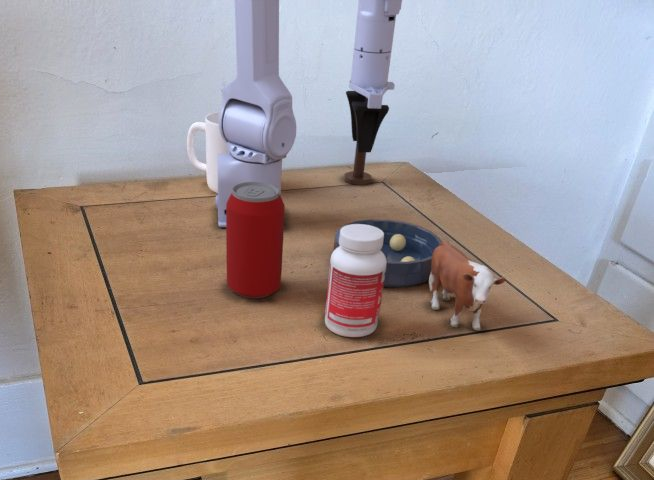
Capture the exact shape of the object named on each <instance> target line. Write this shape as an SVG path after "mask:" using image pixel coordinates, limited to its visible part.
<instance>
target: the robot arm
mask: <svg viewBox="0 0 654 480" xmlns="http://www.w3.org/2000/svg"><path fill="white" fill-rule="evenodd" d="M402 4H403V0H358V4H357V14H356V25H355V35H354V43H353V54H352V63H351V74H350V80H349V81H348V88H349V89H350V90H346V91H345V95H346V98H347V101H348V106H349V112H350V123H351V124H350V125H351V137H352V138H351V139H352V141H353V142H357V149H358V152H366V153H369V154H370V153H371V152H372V150H373V148H374V145H375V141H376V138H377V135H378V132H379V130H380V127H381V125H382V123H383V121H384V119H385V118H386V116H387V115H388V113H389V111H390V106H389V105H388V104H383V98H384V95H385V94H386V92H388V90H391V91H392V90H395V85H396V84H395V83H394V82H393V81H389V73H390V66H391V58H392V50H393V42H394V35H395V29H396V28H395V27H396V21H397V15H399V14H400V11H402V10H401V9H402ZM234 21H235V22H234V23H235V50H236V53H235V54H236V56H235V57H236V76H235V77H234V78H233V79H231V81H229V82H228V83H227V84H226V85H225V86H224V87H223V88H222V90H221V93H222V101H221V102H222V103H221V108H220V111H221V112H220V111H219V112H220V116H219V130H220V134H221V136H222V138H223V140H224V141H225V142H226V143H227V151H228V152H230V153H227V154H218V193H217V194H216V195H215V210H217V217H218V219H217V222H218V227H219V228H226V203H227V201H228V199H229V197H230V195H231V193H232V189H233V187H234V186H235V185H237V184H240V183H244V182H263V183H268V184H271V185H274V186H276V187H277V188H278V189H279V194H280V196H281V197H282V195H281V193H282V173H283V172H282V171H283V159H286V158H287V155H289V153H290V151H291V149H292V148H293V146H294V143H295V141H296V136H297V120H296V117H295V114H294V111H293V95H292V93H291V92H290V90H289V89H288V88H287V86H286V84H285V83H284V81H283V80H282V78H281V76H280V71H279V70H280V0H234Z"/></svg>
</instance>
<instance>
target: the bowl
mask: <svg viewBox="0 0 654 480" xmlns="http://www.w3.org/2000/svg"><path fill="white" fill-rule="evenodd" d="M351 224H365V225H370V226H374V227H377V228H379V229H380V230H382V231H383V233H384V240H383V246H382V248H381V249H380V250H381V251H382V252H383V254H384V255H385V257H386V261H387V264H386V272H385V278H384V285H383V288H406V287H413V286H417V285H420V284H423V283H425V282H427V281H429V277H430V273H431V270H432V269H431V263H432V255H433V252H434V250H435V248H437V247H438V246H439V245H440V244H441V243H442V242H443V240H442V238H441V237H440V236H439V235H437V234H436V233H435V232H434V231H432V230H429V229H427V228H425V227H423V226H420V225H417V224H413V223H410V222H406V221H400V220H395V219H394V220H393V219H380V218H379V219H375V218H373V219H372V218H371V219H364V220H356V221H353V222H349V223H346V224H344V225H343V226H341V227H340V228H338V229H337V230H336V233H335V234H334V238H333V239H334V241H333V249H332V252H333V251H334V250H335V249H336V248H338V247H339V246H340V245H339V237H340V230H341V228H342V227H344V226H346V225H351ZM396 234H401V235H403V236H404V237H405V239H406V245H405V247H404V248H403V249H402V250H401V251H394V250H393V249H392V248H391V247H390V239H391V238H392V237H393V236H394V235H396ZM407 256H410V257H413V258H414V259H415V261H408V262H400V261H401V260H402V259H403V258H404V257H407Z"/></svg>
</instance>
